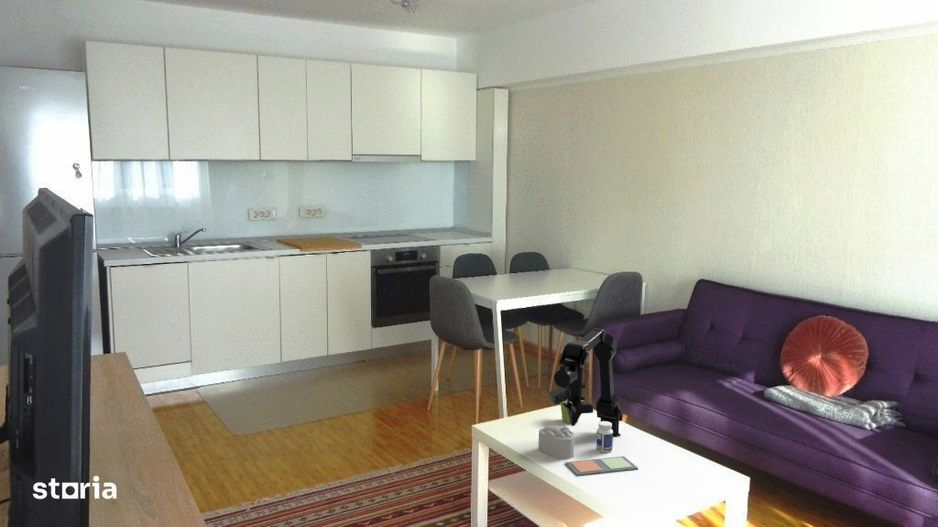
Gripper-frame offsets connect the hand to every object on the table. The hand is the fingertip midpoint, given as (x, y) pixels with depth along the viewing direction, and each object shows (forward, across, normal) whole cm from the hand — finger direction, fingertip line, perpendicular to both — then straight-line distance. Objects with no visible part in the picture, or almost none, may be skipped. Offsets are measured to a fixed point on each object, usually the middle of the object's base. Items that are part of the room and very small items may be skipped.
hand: (572, 425), depth 240 cm
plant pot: (+13, -39, +16) cm, 44 cm away
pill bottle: (+13, -9, +16) cm, 23 cm away
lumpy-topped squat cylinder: (+14, -10, -1) cm, 17 cm away
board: (+13, +4, +9) cm, 17 cm away
